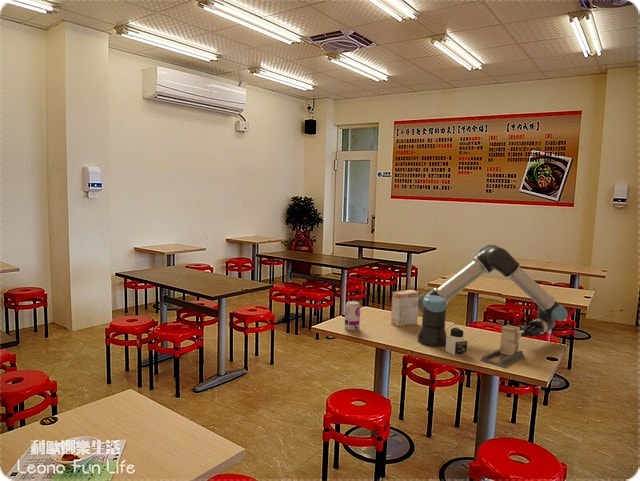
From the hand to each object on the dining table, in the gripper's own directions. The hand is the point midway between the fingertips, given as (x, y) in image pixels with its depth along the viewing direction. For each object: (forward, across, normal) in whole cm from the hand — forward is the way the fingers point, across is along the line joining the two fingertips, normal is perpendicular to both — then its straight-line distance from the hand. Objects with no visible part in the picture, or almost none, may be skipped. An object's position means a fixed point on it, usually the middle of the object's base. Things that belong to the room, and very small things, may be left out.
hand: (517, 335), depth 229 cm
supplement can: (+35, +77, -9) cm, 85 cm away
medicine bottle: (+25, +18, -9) cm, 32 cm away
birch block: (+8, 0, -8) cm, 11 cm away
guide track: (+14, 0, -9) cm, 16 cm away
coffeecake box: (+2, +66, -9) cm, 67 cm away
